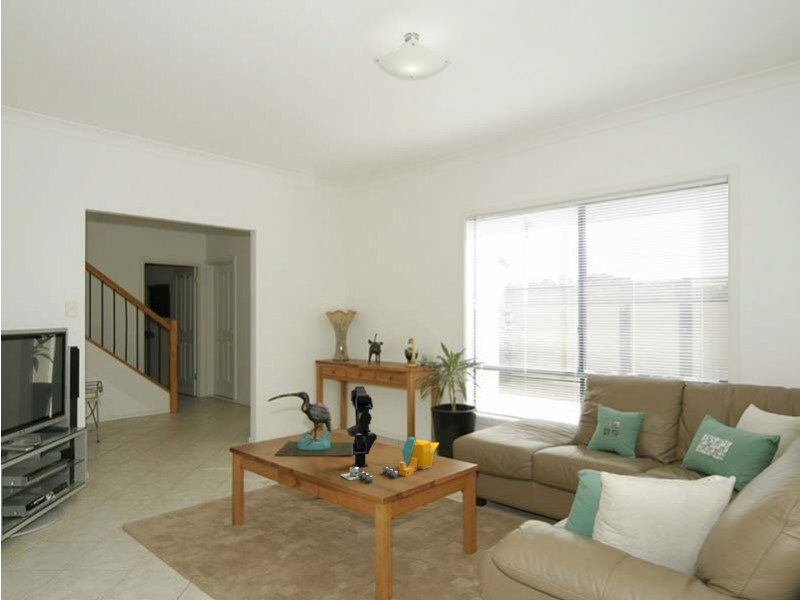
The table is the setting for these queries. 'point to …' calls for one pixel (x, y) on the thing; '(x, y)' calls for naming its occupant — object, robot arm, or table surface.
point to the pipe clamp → (410, 469)
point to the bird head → (419, 452)
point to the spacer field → (369, 478)
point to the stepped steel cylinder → (354, 471)
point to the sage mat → (349, 477)
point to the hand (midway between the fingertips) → (363, 450)
